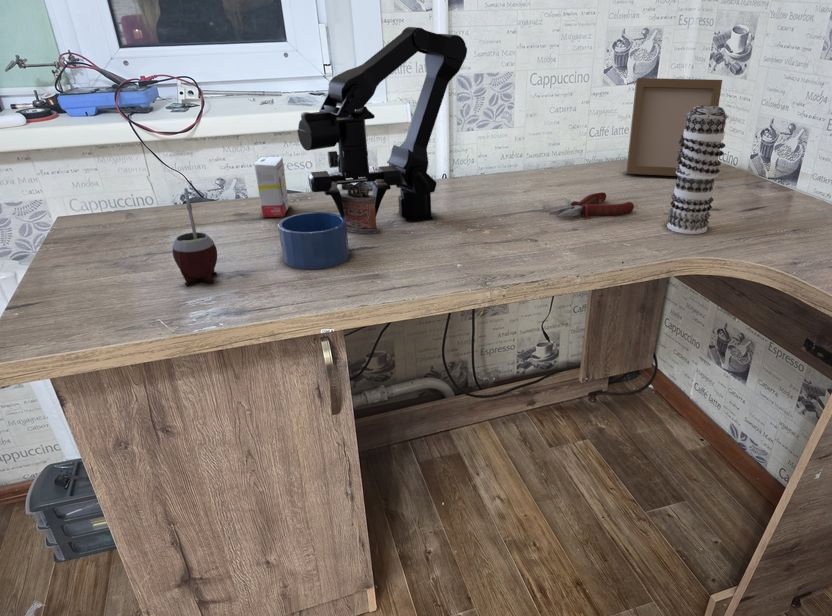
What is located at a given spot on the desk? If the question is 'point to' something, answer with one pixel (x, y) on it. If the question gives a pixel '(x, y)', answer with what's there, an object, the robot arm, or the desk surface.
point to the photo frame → (664, 120)
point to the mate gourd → (195, 253)
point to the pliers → (593, 207)
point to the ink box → (272, 186)
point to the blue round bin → (314, 240)
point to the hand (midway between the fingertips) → (359, 218)
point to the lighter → (359, 208)
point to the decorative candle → (697, 169)
